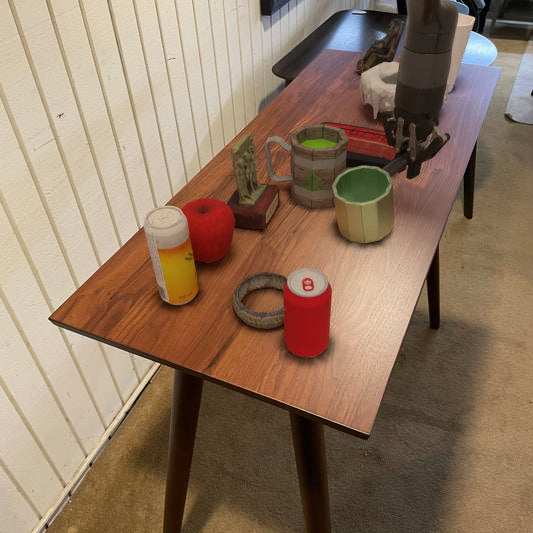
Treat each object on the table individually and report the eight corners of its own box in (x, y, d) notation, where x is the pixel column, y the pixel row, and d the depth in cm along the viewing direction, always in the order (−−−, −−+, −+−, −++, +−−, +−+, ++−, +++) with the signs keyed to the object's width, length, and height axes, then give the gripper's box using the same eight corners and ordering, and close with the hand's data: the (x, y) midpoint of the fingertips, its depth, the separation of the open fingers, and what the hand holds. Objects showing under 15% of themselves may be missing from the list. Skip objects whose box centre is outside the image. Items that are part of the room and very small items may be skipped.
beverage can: (326, 325, 75) (329, 263, 67) (331, 359, 70) (336, 297, 62) (283, 327, 75) (281, 265, 67) (285, 361, 70) (284, 299, 62)
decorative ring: (223, 324, 76) (289, 338, 73) (221, 309, 73) (289, 323, 71) (246, 279, 83) (306, 290, 80) (245, 264, 81) (306, 275, 78)
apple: (229, 232, 92) (223, 180, 85) (245, 265, 85) (241, 211, 78) (175, 246, 90) (164, 194, 82) (188, 280, 83) (178, 227, 76)
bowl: (368, 91, 136) (372, 52, 129) (448, 100, 130) (456, 60, 123) (348, 125, 121) (351, 84, 115) (437, 138, 115) (445, 95, 109)
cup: (454, 98, 130) (470, 28, 119) (414, 93, 134) (426, 23, 122) (462, 82, 138) (477, 14, 126) (424, 77, 141) (435, 10, 130)
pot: (398, 175, 97) (397, 136, 91) (437, 198, 91) (439, 157, 85) (327, 224, 93) (321, 186, 86) (364, 251, 87) (360, 213, 80)
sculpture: (265, 233, 91) (262, 159, 81) (223, 226, 93) (215, 153, 84) (281, 203, 98) (279, 131, 88) (241, 197, 100) (236, 126, 90)
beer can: (207, 291, 81) (195, 214, 71) (178, 313, 78) (161, 235, 68) (181, 275, 84) (166, 198, 74) (152, 295, 81) (132, 218, 71)
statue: (358, 68, 147) (363, 12, 137) (400, 73, 144) (407, 16, 134) (353, 76, 144) (357, 19, 134) (395, 81, 140) (403, 23, 130)
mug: (348, 181, 103) (353, 126, 95) (339, 212, 95) (344, 155, 87) (273, 173, 107) (271, 119, 99) (259, 202, 99) (255, 145, 91)
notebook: (393, 165, 103) (296, 147, 110) (391, 175, 104) (295, 157, 111) (411, 133, 114) (321, 118, 121) (409, 143, 115) (321, 128, 122)
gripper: (475, 84, 76) (451, 184, 87) (406, 58, 85) (392, 152, 96) (441, 97, 73) (420, 199, 84) (373, 69, 81) (362, 165, 93)
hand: (405, 173), depth 90 cm, fingers closed on pot, 2 cm apart
